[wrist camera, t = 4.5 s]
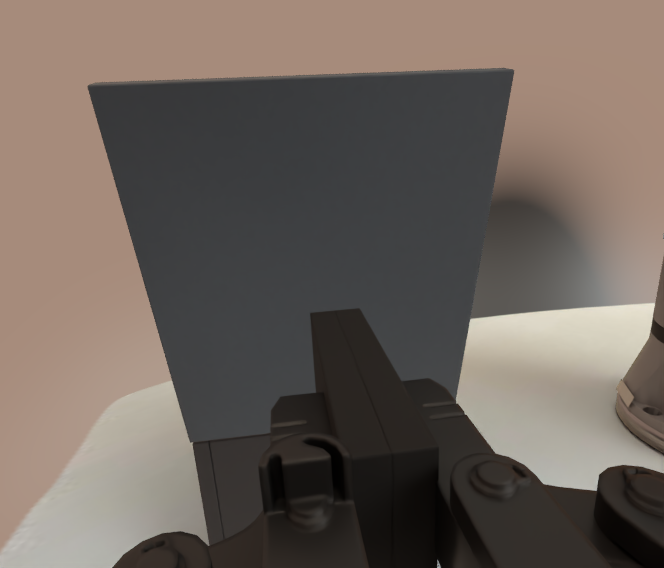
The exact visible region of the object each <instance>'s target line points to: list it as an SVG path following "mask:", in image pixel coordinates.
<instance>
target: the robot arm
mask: <svg viewBox="0 0 664 568" xmlns="http://www.w3.org/2000/svg"><path fill="white" fill-rule="evenodd" d="M663 239H664V235H663ZM310 320H311V333H312V347H313V360H314V374H315V387H316V393H308V394H299V395H291V396H282V397H280V398H279V399H278V401H277V402H276V404H275V405H274V406H273V408H272V409H271V428H270V447H269V448H268V449H267V450H266V451H265V452H264V453H263V454H262V456H261V459H260V462H259V465H258V471H259V479H260V487H261V495H262V503H263V511H262V512H261V513H260V515H259V516H258V517H257V518H256V519H255V521H254V522H252V523H251V524H250V525H249V526H247V527H246V528H245V529H244V530H242V531H240V532H238V533H236V534H235V535H233V536H231V537H229V538H226V539H224V540H222V541H219V542H217V543H215V544H212V545H210V546H208V545H207V544H206V543H205V542H203V541H202V540H201V539H200V538H199V537H198V536H197V535H193V534H189V533H185V532H181V531H180V532H171V533H162V534H160V535H157V536H155V537H152V538H150V539H147V540H145V541H142V542H141V543H140V544H138V545H137V546H135V547H134V548H132V549H131V550H130V551H128V552H127V553H125V554H124V555H123V556H122V557H121V558H120V560H119V561H118V562H117V563H116V564H115V565H114V566H113V568H437V558H438V561H439V563H440V566H441V568H664V474H663V473H660V472H657V471H654V470H650V469H647V468H644V467H637V466H627V465H621V466H615V467H610V468H607V469H606V470H605V471H603V472H602V473H601V474H600V475H599V480H598V487H597V491H591V490H582V489H573V488H563V487H555V486H550V485H545V484H543V483H542V482H541V481H540V480H539V479H538V477H537V476H536V475H535V474H534V473H533V472H531V471H530V470H529V469H528V468H527V467H526V466H525V465H523V464H521V463H519V462H517V461H515V460H513V459H511V458H509V457H506V456H502V455H498V454H495V452H494V451H493V450H492V448H491V447H490V446H489V444H488V443H487V442H486V440H485V439H484V438H483V436H482V435H481V434H480V432H479V431H478V430H477V428H476V427H475V426H474V424H473V423H472V422H471V420H470V419H469V418H468V416H467V415H465V414H464V411H463V410H462V409H461V407H460V406H459V405H458V404H456V401H455V399H454V398H453V397H452V395H451V394H450V393H449V391H448V390H447V389H446V388H445V387H443V386H442V385H440V384H438V383H437V382H435V381H433V380H432V379H430V378H425V379H417V380H408V381H401V379H400V378H399V376H398V374H397V372H396V371H395V369H394V367H393V365H392V364H391V362H390V360H389V358H388V357H387V355H386V353H385V351H384V350H383V348H382V346H381V345H380V343H379V341H378V339H377V338H376V336H375V334H374V332H373V331H372V329H371V327H370V325H369V324H368V322H367V320H366V318H365V317H364V315H363V313H362V311H361V310H360V308H356V309H345V310H335V311H324V312H314V313H310ZM616 390H617V391H618V393H617V400H616V411H617V414H618V416H619V418H620V419H621V421H622V422H623V423H624V424H625V426H626V427H627V428H628V429H629V430H630V431H631V432H633V433H634V434H635V435H636V436H638V437H639V438H640V439H642V440H643V441H644V442H646V443H647V444H649V445H651V446H652V447H654V448H655V449H657V450H659V451H661V452H663V453H664V257H663V264H662V269H661V275H660V280H659V286H658V292H657V297H656V303H655V308H654V314H653V321H652V327H651V332H650V336H649V339H648V341H647V342H646V344H645V345H644V347H643V348H642V350H641V352H640V353H639V355H638V356H637V358H636V359H635V361H634V363H633V364H632V366H631V367H630V369H629V370H628V372H627V374H626V375H625V377H624V378H623V380H622V379H621V381H620V383H619V384H618V386H617V388H616Z"/></svg>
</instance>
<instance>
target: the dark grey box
mask: <svg viewBox="0 0 664 568" xmlns="http://www.w3.org/2000/svg"><path fill="white" fill-rule="evenodd" d="M269 447H270V433H266V434H258V435H250V436H241V437H233V438H224V439H216V440H208V441H199V442H193V449H194V455H195V461H196V467H197V473H198V479H199V485H200V491H201V497H202V503H203V509H204V514H205V520H206V526H207V532H208V538H209V544H210V545H212V544H215V543H217V542H219V541H222V540H224V539H226V538H229V537H231V536H233V535H235V534H236V533H238V532H240V531H242V530H244V529H245V528H246V527H247V526H249V525H250V524H251V523H252V522H254V521H255V519H256V518H257V517H258V516H259V515H260V513H261V512H262V511H263V503H262V495H261V487H260V479H259V471H258V465H259V462H260V459H261V456H262V454H263V453H264V452H265V451H266V450H267V449H268V448H269ZM437 560H438V558H437Z"/></svg>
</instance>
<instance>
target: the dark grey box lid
mask: <svg viewBox="0 0 664 568" xmlns="http://www.w3.org/2000/svg"><path fill="white" fill-rule="evenodd" d="M513 75H514V70H513V69H506V68H492V69H466V70H465V69H464V70H437V71H410V72H409V71H408V72H381V73H352V74H324V75H296V76H269V77H243V78H242V77H240V78H213V79H184V80H158V81H129V82H101V83H93V84H90V85H88V90H89V94H90V97H91V101H92V104H93V107H94V111H95V114H96V118H97V121H98V125H99V128H100V132H101V135H102V138H103V142H104V146H105V149H106V152H107V156H108V159H109V163H110V166H111V170H112V173H113V177H114V180H115V184H116V187H117V190H118V194H119V198H120V201H121V204H122V208H123V211H124V215H125V218H126V222H127V225H128V229H129V232H130V236H131V239H132V242H133V246H134V250H135V253H136V256H137V260H138V263H139V267H140V270H141V274H142V277H143V281H144V284H145V288H146V291H147V295H148V298H149V302H150V305H151V308H152V312H153V315H154V319H155V322H156V326H157V329H158V333H159V336H160V340H161V343H162V347H163V350H164V353H165V357H166V360H167V364H168V367H169V371H170V374H171V378H172V381H173V385H174V388H175V392H176V395H177V398H178V402H179V405H180V409H181V412H182V416H183V419H184V423H185V426H186V430H187V433H188V437H189V440H190V442H199V441H208V440H216V439H224V438H233V437H241V436H250V435H258V434H266V433H270V428H271V409H272V408H273V406H274V405H275V404H276V402H277V401H278V399H279V398H280V397H282V396H291V395H299V394H308V393H316V387H315V374H314V360H313V347H312V333H311V320H310V313H314V312H324V311H335V310H345V309H356V308H360V310H361V311H362V313H363V315H364V317H365V318H366V320H367V322H368V324H369V325H370V327H371V329H372V331H373V332H374V334H375V336H376V338H377V339H378V341H379V343H380V345H381V346H382V348H383V350H384V351H385V353H386V355H387V357H388V358H389V360H390V362H391V364H392V365H393V367H394V369H395V371H396V372H397V374H398V376H399V378H400V379H401V381H408V380H417V379H425V378H430V379H432V380H433V381H435V382H437V383H438V384H440V385H442V386H443V387H445V388H446V389H447V390H448V391H449V393H450V394H451V395H452V397H453V398H454V399H455V401H456V395H457V389H458V384H459V378H460V373H461V367H462V361H463V356H464V350H465V344H466V339H467V333H468V328H469V322H470V316H471V310H472V305H473V300H474V294H475V288H476V283H477V277H478V272H479V265H480V260H481V254H482V249H483V243H484V238H485V231H486V227H487V221H488V215H489V209H490V204H491V199H492V193H493V187H494V182H495V176H496V170H497V165H498V159H499V153H500V148H501V142H502V137H503V131H504V126H505V120H506V114H507V109H508V103H509V97H510V92H511V86H512V81H513Z"/></svg>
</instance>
